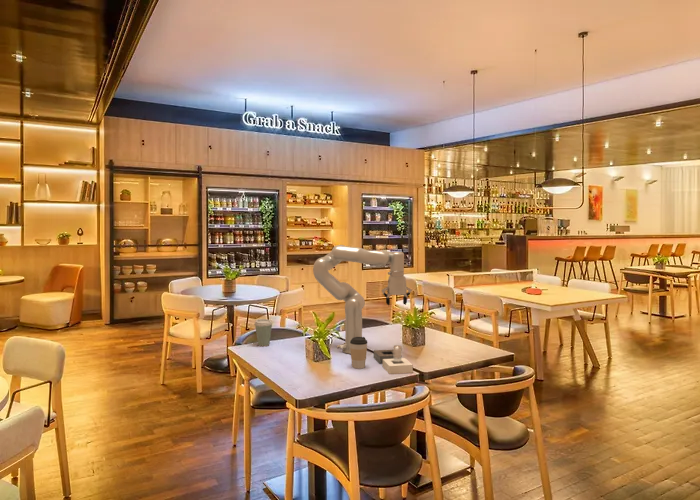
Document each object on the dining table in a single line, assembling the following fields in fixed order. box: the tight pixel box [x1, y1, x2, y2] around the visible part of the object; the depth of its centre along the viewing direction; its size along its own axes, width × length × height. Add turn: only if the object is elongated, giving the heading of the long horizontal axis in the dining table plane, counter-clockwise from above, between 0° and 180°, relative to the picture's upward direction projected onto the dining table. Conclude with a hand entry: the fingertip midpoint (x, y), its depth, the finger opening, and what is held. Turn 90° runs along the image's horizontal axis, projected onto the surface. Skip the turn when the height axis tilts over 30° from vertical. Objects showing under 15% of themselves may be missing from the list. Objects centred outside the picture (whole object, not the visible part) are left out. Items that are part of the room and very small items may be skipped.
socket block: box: [381, 357, 414, 375], centre depth 246 cm, size 12×12×4 cm
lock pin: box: [393, 344, 403, 364], centre depth 246 cm, size 4×4×12 cm
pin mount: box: [373, 348, 403, 365], centre depth 263 cm, size 12×12×4 cm
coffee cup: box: [350, 336, 368, 370], centre depth 251 cm, size 9×9×15 cm
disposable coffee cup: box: [254, 318, 273, 347], centre depth 290 cm, size 11×11×15 cm
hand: (396, 304), depth 273 cm, fingers open, 9 cm apart
